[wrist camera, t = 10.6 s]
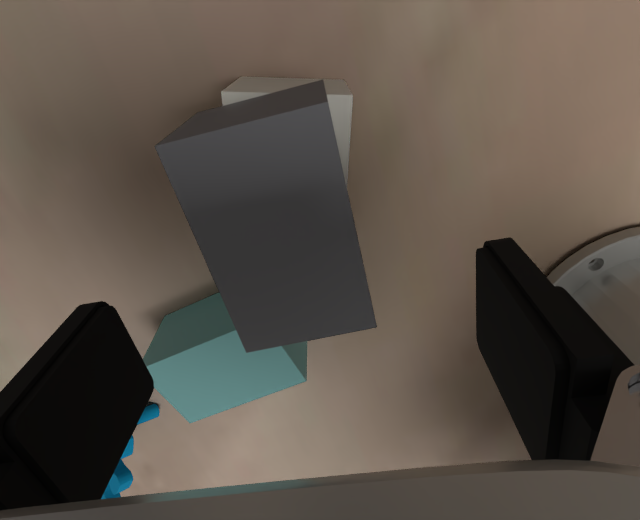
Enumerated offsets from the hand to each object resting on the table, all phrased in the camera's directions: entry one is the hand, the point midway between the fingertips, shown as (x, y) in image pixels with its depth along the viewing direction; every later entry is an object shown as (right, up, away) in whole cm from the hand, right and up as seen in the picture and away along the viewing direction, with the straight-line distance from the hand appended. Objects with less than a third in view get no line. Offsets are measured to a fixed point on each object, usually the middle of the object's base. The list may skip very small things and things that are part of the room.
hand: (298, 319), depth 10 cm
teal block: (-5, -2, +17) cm, 18 cm away
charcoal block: (-1, +4, +7) cm, 8 cm away
